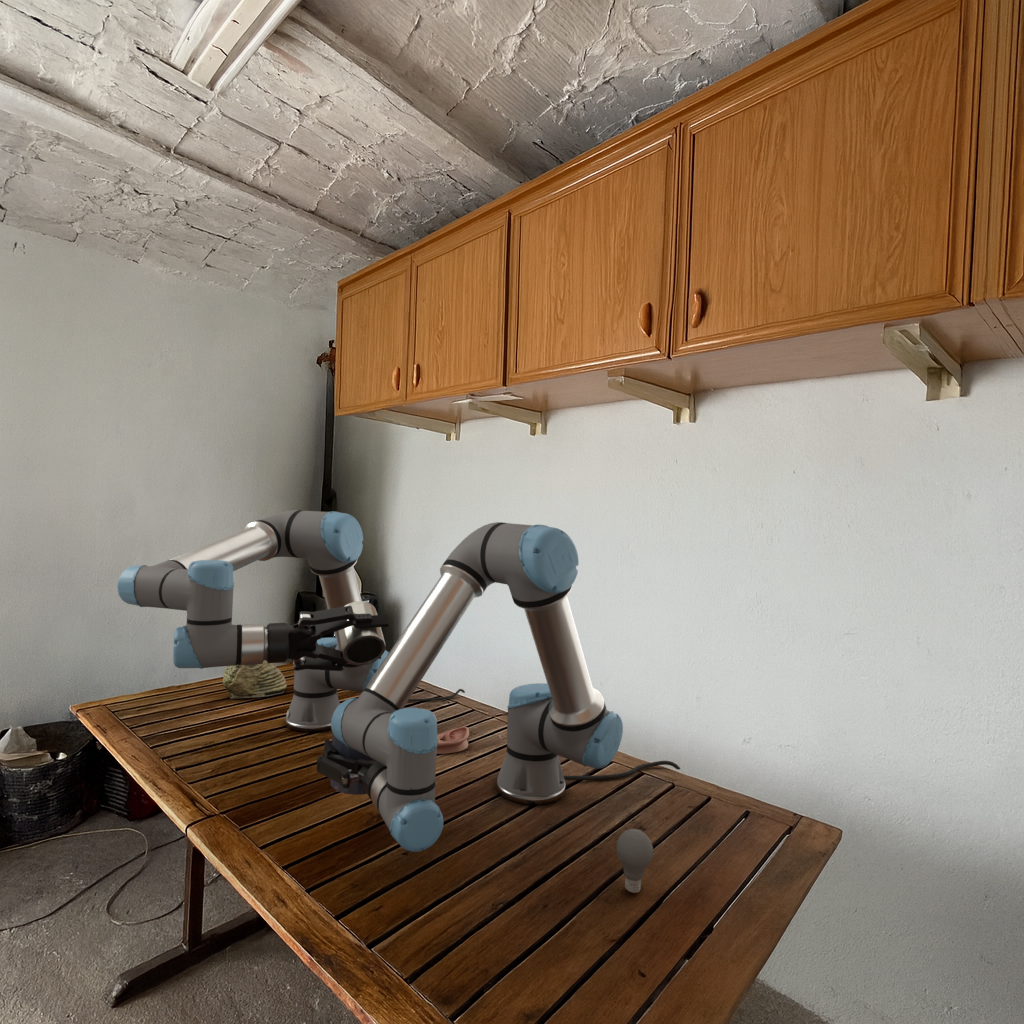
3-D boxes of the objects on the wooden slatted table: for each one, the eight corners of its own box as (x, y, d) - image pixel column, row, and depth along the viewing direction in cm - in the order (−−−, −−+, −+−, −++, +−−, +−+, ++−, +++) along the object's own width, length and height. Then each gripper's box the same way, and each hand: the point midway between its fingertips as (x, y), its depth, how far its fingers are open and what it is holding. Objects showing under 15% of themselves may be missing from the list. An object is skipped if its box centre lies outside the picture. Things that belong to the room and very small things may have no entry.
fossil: (218, 695, 195) (220, 647, 195) (278, 685, 208) (279, 640, 207) (228, 703, 189) (230, 653, 188) (289, 692, 201) (290, 645, 201)
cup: (369, 595, 131) (378, 629, 124) (381, 621, 136) (390, 655, 129) (331, 609, 130) (337, 645, 122) (343, 635, 135) (350, 670, 127)
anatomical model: (410, 735, 159) (425, 720, 170) (409, 751, 159) (424, 734, 171) (461, 741, 157) (473, 725, 168) (460, 757, 157) (472, 740, 168)
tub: (366, 762, 132) (368, 711, 131) (404, 780, 124) (406, 726, 124) (317, 781, 122) (320, 726, 122) (356, 801, 115) (358, 742, 115)
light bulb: (610, 879, 108) (613, 822, 108) (644, 879, 109) (647, 822, 109) (619, 902, 102) (622, 840, 102) (655, 901, 103) (658, 840, 103)
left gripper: (268, 587, 118) (388, 585, 128) (260, 667, 128) (372, 659, 138) (270, 615, 112) (396, 611, 122) (262, 696, 123) (378, 686, 133)
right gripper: (317, 823, 101) (294, 770, 121) (456, 796, 113) (415, 751, 132) (319, 777, 101) (296, 731, 120) (458, 754, 113) (417, 715, 132)
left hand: (383, 637), depth 130 cm, fingers closed on cup, 8 cm apart
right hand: (358, 741), depth 126 cm, fingers closed on tub, 12 cm apart
